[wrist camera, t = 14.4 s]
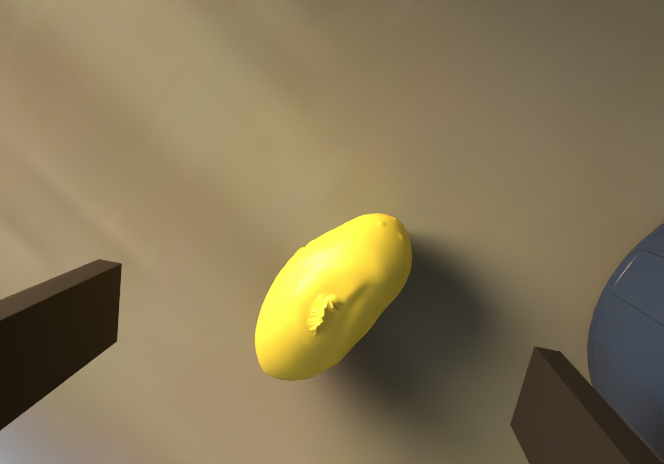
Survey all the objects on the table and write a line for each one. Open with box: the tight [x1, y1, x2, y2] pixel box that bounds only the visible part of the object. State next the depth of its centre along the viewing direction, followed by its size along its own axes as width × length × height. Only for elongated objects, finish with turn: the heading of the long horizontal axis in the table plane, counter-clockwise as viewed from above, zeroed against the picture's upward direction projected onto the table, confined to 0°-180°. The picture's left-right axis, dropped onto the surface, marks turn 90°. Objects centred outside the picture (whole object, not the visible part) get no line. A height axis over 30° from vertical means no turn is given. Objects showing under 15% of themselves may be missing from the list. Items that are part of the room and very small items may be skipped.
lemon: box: [255, 214, 412, 381], centre depth 16 cm, size 4×8×4 cm, turn 136°
